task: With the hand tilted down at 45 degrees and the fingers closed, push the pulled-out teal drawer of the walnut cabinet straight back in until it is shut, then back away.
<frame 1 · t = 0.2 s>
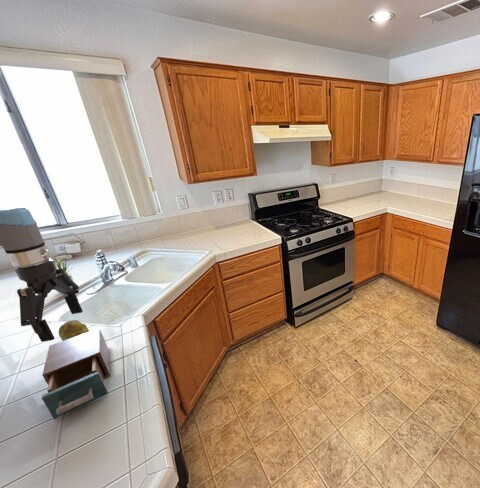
hand: (63, 325, 80), 17 cm above the countertop, tool pointing down, fingers open, 13 cm apart
house plant: (66, 288, 142), on the countertop
drawer: (77, 384, 75), point 5 cm above the countertop, slide at 8.0 cm
potato: (79, 342, 99), on the countertop
cabinet: (85, 372, 85), on the countertop
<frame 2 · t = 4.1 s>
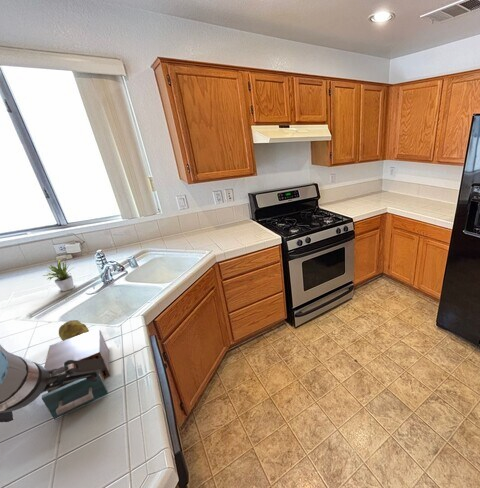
hand: (54, 393, 58), 17 cm above the countertop, tool tilted 45°, fingers open, 13 cm apart
nothing on the countertop moved.
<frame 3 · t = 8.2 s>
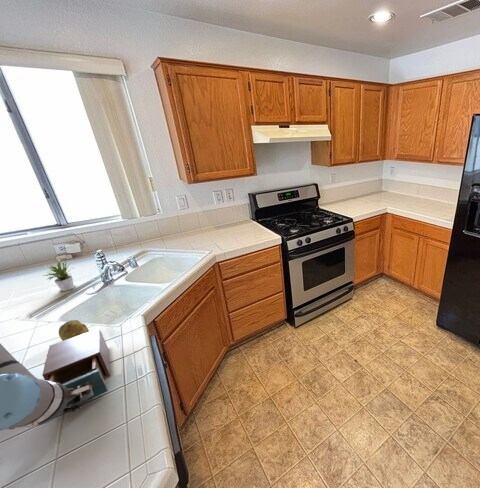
hand: (75, 405, 68), 5 cm above the countertop, tool tilted 45°, fingers closed
drawer: (78, 381, 76), point 5 cm above the countertop, slide at 6.9 cm, touching gripper
everything else where it was.
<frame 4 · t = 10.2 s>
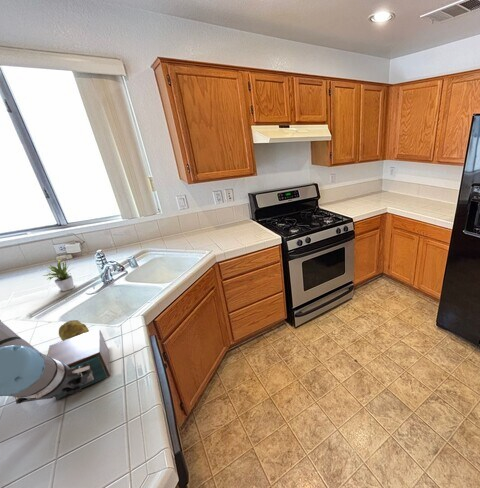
hand: (77, 388, 73), 5 cm above the countertop, tool tilted 45°, fingers closed
drawer: (79, 367, 81), point 5 cm above the countertop, slide at 0.0 cm, touching cabinet, gripper
everything else where it was.
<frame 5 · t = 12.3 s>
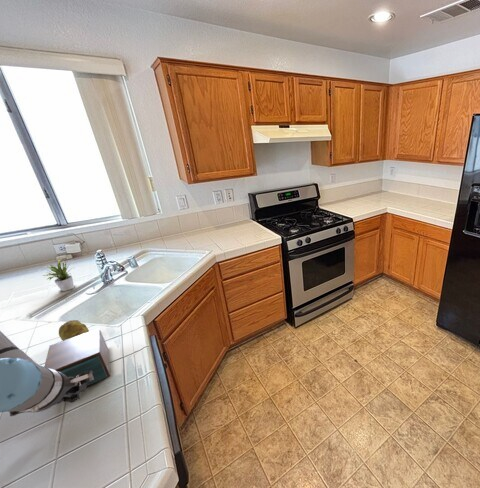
hand: (74, 395, 70), 6 cm above the countertop, tool tilted 45°, fingers closed
drawer: (79, 367, 81), point 5 cm above the countertop, slide at 0.0 cm
everything else where it was.
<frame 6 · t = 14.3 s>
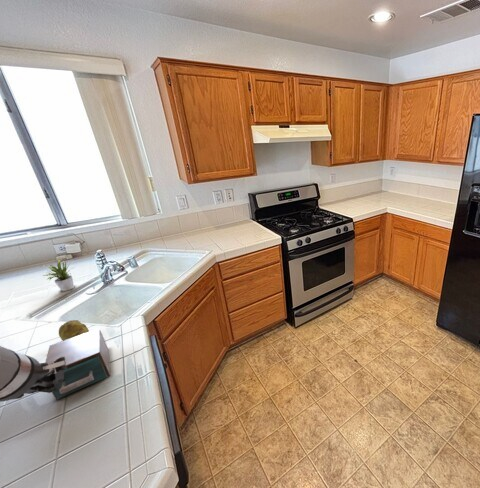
hand: (53, 385, 63), 15 cm above the countertop, tool tilted 45°, fingers closed
nothing on the countertop moved.
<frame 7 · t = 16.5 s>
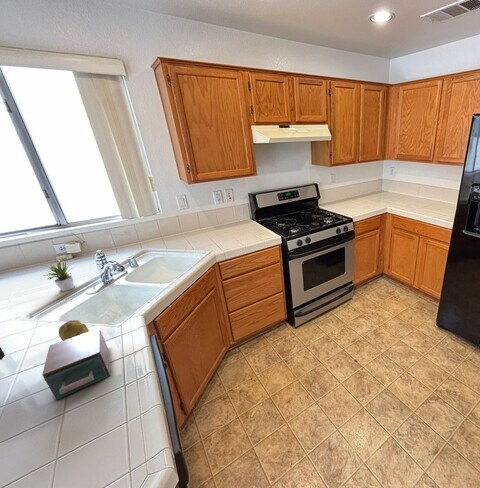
nothing on the countertop moved.
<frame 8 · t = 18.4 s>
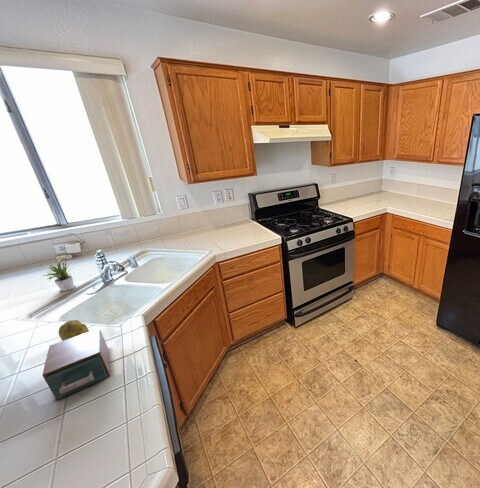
nothing on the countertop moved.
at the end: drawer slide at 0.0 cm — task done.
